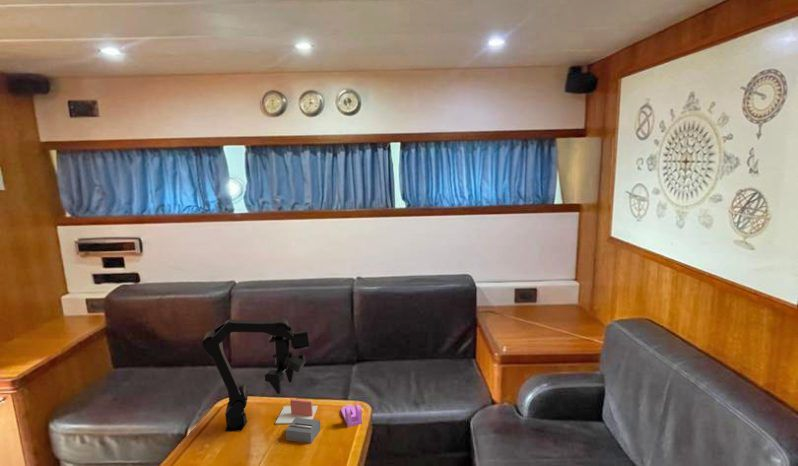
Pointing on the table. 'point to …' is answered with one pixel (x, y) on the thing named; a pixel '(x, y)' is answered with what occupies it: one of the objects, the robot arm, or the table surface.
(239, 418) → the robot arm
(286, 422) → the mat
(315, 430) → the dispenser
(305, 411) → the pink rectangular prism
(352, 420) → the bracket
